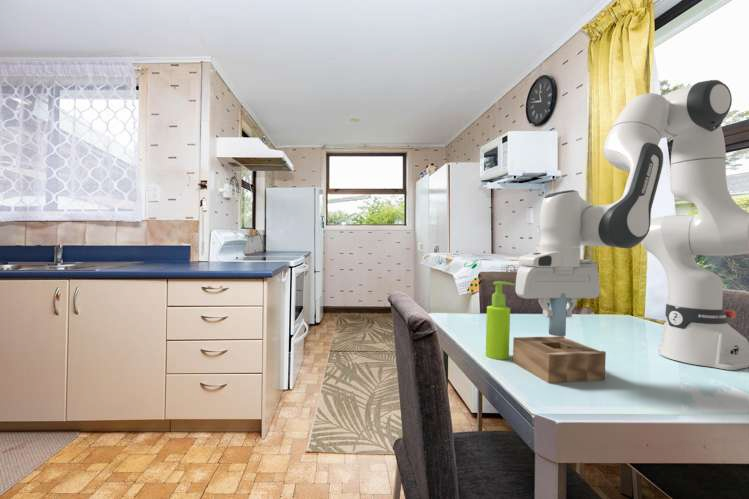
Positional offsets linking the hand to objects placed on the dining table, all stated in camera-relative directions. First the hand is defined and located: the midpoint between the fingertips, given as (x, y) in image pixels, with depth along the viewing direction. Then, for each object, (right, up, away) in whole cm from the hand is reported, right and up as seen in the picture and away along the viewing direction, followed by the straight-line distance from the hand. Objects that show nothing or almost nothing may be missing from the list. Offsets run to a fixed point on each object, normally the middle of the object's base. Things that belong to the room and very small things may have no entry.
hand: (557, 317), depth 87 cm
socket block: (0, -13, 0) cm, 13 cm away
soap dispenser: (-10, -13, +11) cm, 19 cm away
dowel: (0, -4, 0) cm, 4 cm away
